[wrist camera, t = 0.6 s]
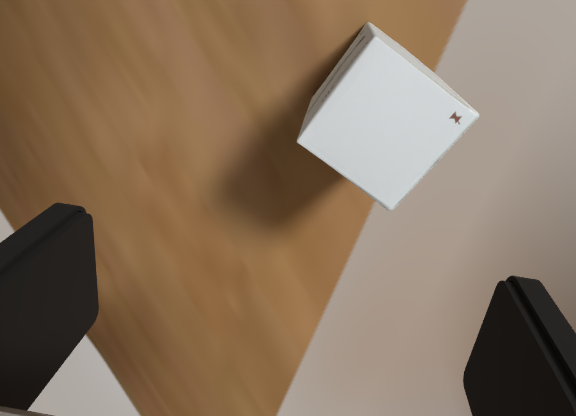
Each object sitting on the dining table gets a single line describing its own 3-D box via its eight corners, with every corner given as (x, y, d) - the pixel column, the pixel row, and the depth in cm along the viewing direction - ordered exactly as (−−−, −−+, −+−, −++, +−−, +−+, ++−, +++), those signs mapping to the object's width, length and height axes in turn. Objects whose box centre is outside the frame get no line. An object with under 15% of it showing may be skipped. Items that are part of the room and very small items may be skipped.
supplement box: (367, 17, 35) (377, 28, 23) (441, 78, 36) (486, 117, 25) (308, 97, 38) (292, 141, 26) (379, 151, 39) (393, 215, 28)
